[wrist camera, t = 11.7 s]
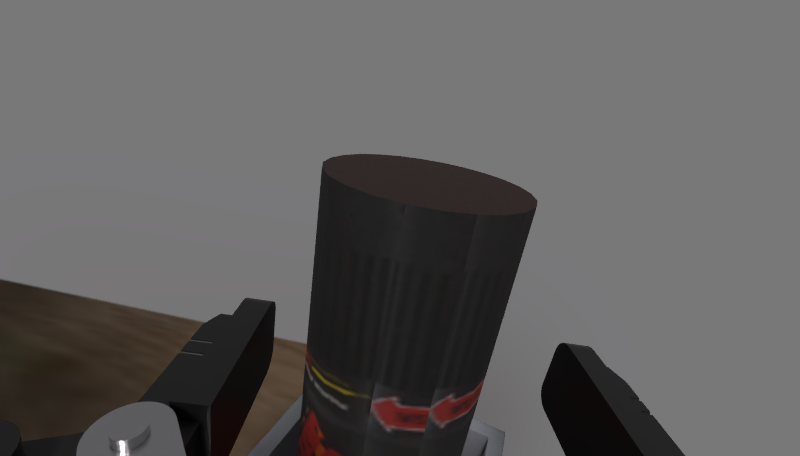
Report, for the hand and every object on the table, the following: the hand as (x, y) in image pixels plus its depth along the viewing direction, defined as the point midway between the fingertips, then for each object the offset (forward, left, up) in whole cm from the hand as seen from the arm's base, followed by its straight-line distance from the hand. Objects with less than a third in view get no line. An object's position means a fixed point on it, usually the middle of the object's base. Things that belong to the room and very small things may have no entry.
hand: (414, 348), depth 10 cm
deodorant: (0, +2, -11) cm, 11 cm away
